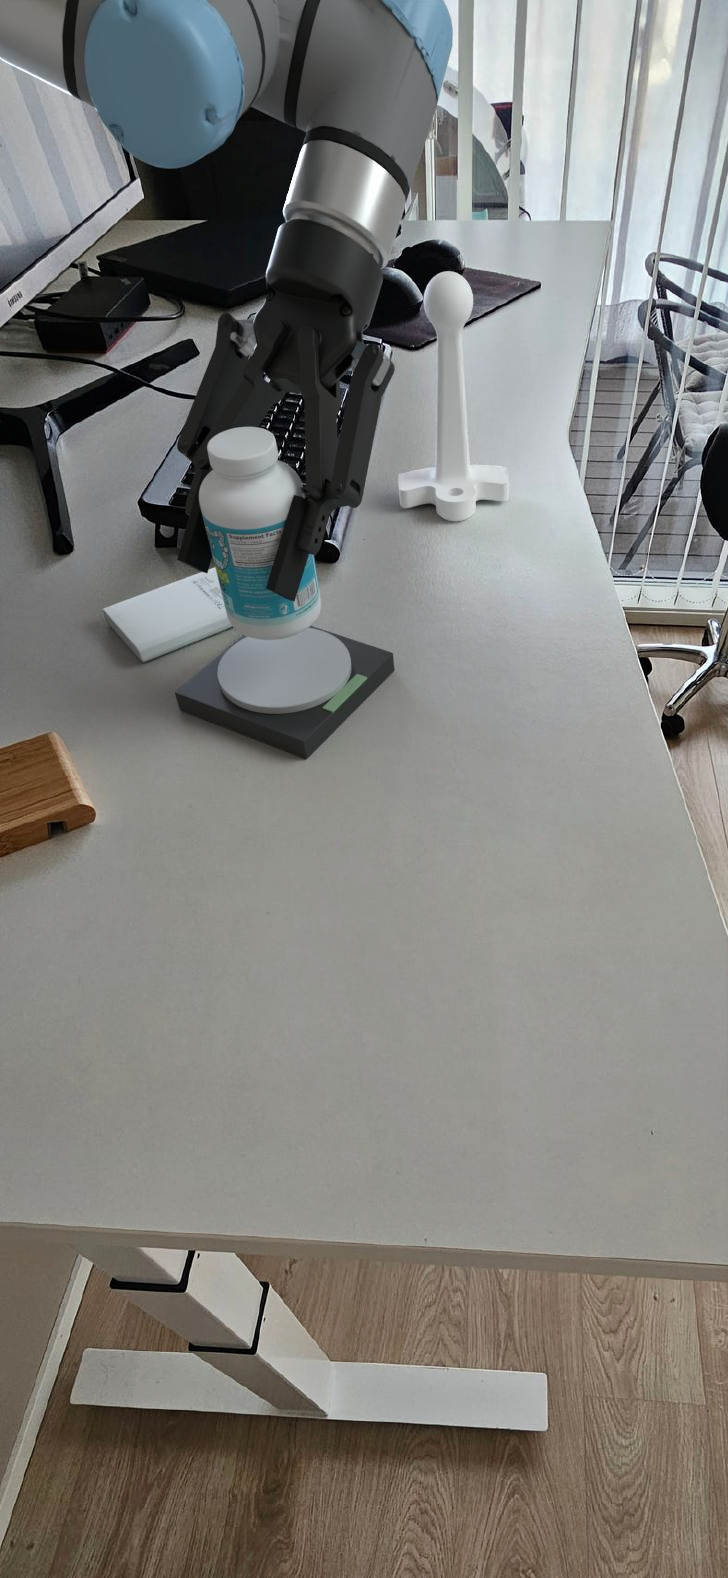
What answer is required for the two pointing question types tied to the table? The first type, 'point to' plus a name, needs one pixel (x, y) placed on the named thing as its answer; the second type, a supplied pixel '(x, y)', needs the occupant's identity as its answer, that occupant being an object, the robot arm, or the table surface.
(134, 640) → the hard drive
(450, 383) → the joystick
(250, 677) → the scale
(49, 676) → the table surface
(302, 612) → the pill bottle
